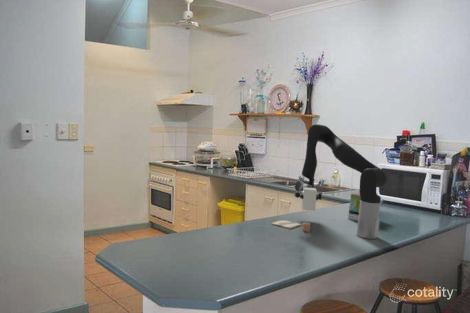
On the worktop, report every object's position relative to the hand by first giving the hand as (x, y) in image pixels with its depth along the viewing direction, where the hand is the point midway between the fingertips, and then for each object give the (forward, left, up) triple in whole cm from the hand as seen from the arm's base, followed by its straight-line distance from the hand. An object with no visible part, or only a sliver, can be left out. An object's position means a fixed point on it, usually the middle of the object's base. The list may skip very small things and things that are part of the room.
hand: (309, 197), depth 194 cm
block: (+1, -2, -17) cm, 17 cm away
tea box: (-9, -52, -17) cm, 56 cm away
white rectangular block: (+1, -2, -6) cm, 6 cm away
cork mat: (+13, -3, -17) cm, 21 cm away
